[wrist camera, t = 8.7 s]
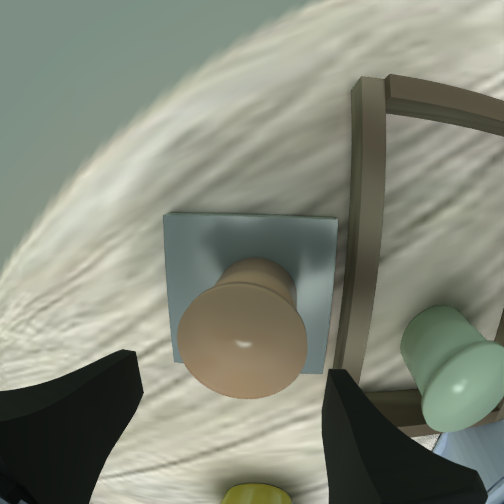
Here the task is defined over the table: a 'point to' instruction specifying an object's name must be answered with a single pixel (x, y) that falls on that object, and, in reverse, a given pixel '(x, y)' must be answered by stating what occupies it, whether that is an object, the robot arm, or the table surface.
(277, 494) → the plant pot
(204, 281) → the slate slab
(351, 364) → the frame
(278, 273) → the terracotta pot
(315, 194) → the table surface
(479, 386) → the green pot
